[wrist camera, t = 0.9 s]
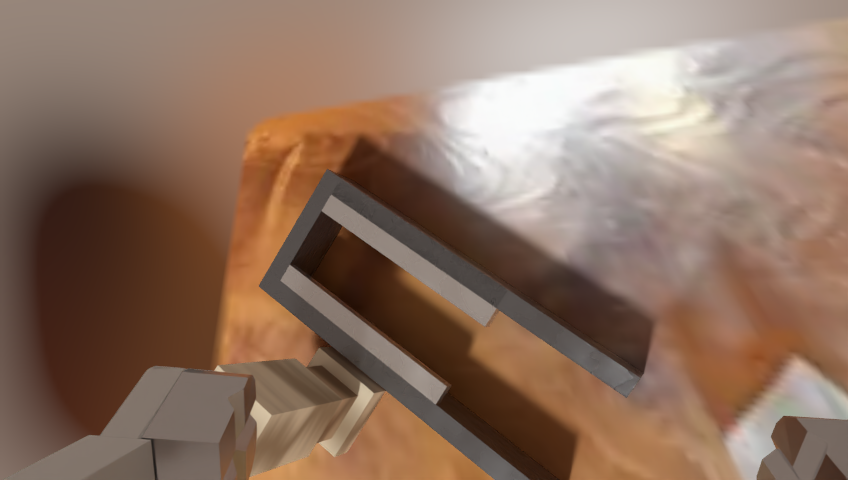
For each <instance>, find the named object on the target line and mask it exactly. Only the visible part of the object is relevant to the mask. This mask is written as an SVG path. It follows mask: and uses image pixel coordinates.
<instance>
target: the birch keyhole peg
mask: <svg viewBox="0 0 848 480" xmlns="http://www.w3.org/2000/svg"><path fill="white" fill-rule="evenodd" d="M215 371H218V372H229V373H239V374H249V375H253V377H254V379H255V384H256V400H255V403H254V405H253V408H252V410H251V413H250V414H251V416H252V417H253V418H254V419H255V421H256V422H257V440H256V451H255V456H254V461H253V466H252V471H251V474H250V477H251V476H254V475H257V474H260V473H263V472H266V471H268V470H271V469H274V468H277V467H280V466H283V465H285V464H288V463H291V462H294V461H297V460H300V459H303V458H305V457H308V456H309V455H310V453H311V451H312V450H313V448H314V446H315V445H316V443H319V444H321V445H322V446H323V447H324V448H325V449H326V450H327V451H328V452H329V453H330V454H331V455H333V456H334V457H336V456H339V455H341V454H344V453H347V452H348V450H349V449H350V447H351V445H352V444H353V442H354V441H355V439H356V437H357V436H358V434H359V433H360V431H361V429H362V428H363V426H364V425H365V423H366V421H367V420H368V418H369V417H370V415H371V413H372V412H373V410H374V409H375V407H376V405H377V404H378V402H379V400H380V399H381V397H382V396H383V394H384V392H385V390H384V389H383V388H382V387H381V386H379V385H378V384H377V383H376V382H374V381H373V380H372V379H371V378H370V377H368V376H367V375H366V374H365V373H363V372H362V371H361V370H360V369H359V368H357V367H356V366H355V365H354V364H352V363H351V362H350V361H349V360H348V359H346V358H345V357H344V356H343V355H341V354H340V353H339V352H338V351H337V350H335V349H334V348H333V347H319V348H318V350H317V352H316V353H315V355H314V357H313V358H312V360H311V362H310V363H309V365H308V367H305V366H304V365H302V364H301V363H300V362H299V361H298V360H297V359H285V360H273V361H262V362H250V363H239V364H228V365H218V366H217V368H216V369H215Z"/></svg>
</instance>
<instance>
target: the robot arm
mask: <svg viewBox="0 0 848 480" xmlns="http://www.w3.org/2000/svg"><path fill="white" fill-rule="evenodd" d="M255 400H256V384H255V379H254V377H253V375H249V374H239V373H229V372H218V371H208V370H198V369H184V368H175V367H162V366H154V367H152V368H149V369H148V370H147V371H146V372H145V373H144V375H143V376H142V378H141V379H140V380H139V382H138V383H137V384H136V386H135V387H134V389H133V390H132V391H131V393H130V394H129V396H128V397H127V398H126V400H125V401H124V403H123V404H122V406H121V407H120V408H119V410H118V411H117V412H116V414H115V415H114V416H113V418H112V419H111V421H110V422H109V423H108V425H107V426H106V427H105V429H104V430H103V432H102V433H101V435H100V436H93V435H88V436H86V437H85V438H83V439H81V440H79V441H77V442H75V443H73V444H71V445H69V446H67V447H65V448H63V449H61V450H59V451H57V452H55V453H53V454H51V455H50V456H48V457H46V458H44V459H42V460H40V461H38V462H36V463H34V464H32V465H30V466H28V467H26V468H24V469H22V470H20V471H18V472H17V473H15V474H13V475H11V476H9V477H7V478H5V479H3V480H249V477H250V474H251V471H252V466H253V461H254V456H255V451H256V440H257V422H256V421H255V419H254V418H253V417H252V416H251V414H250V413H251V410H252V408H253V405H254V403H255ZM771 438H772V440H773V442H774V445H775V447H776V449H775V450H774V451H773V452H771V453H770V454H769V455H767V456H766V457H765V458H763V459H762V462H761V465H760V468H759V471H758V474H757V480H848V420H839V419H824V418H809V417H794V416H783V417H782V418H781V419H780V420H779V421H778V422H777V423H776V425H775V428H774V430H773V433H772V435H771Z"/></svg>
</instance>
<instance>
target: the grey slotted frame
mask: <svg viewBox="0 0 848 480" xmlns="http://www.w3.org/2000/svg"><path fill="white" fill-rule="evenodd" d="M342 226H344V227H345V228H346V229H348V230H349V231H351V232H352V233H353V234H355V235H356V236H358V237H359V238H360V239H362V240H363V241H365V242H366V243H368V244H369V245H370V246H372V247H373V248H375V249H376V250H377V251H379V252H380V253H382V254H383V255H384V256H386V257H387V258H389V259H390V260H392V261H393V262H394V263H396V264H397V265H399V266H400V267H401V268H403V269H404V270H406V271H407V272H408V273H410V274H411V275H413V276H414V277H416V278H417V279H418V280H420V281H421V282H423V283H424V284H425V285H427V286H428V287H430V288H431V289H432V290H434V291H435V292H437V293H438V294H440V295H441V296H442V297H444V298H445V299H447V300H448V301H449V302H451V303H452V304H454V305H455V306H456V307H458V308H459V309H461V310H462V311H464V312H465V313H466V314H468V315H469V316H471V317H472V318H473V319H475V320H476V321H478V322H479V323H480V324H482V325H483V326H485V327H489V326H490V324H491V323H492V321H493V320H494V318H495V317H496V315H497V313H498V312H499V310H500V311H501V312H503V313H504V314H505V315H507V316H508V317H510V318H511V319H513V320H514V321H516V322H517V323H519V324H520V325H521V326H523V327H524V328H526V329H527V330H529V331H530V332H532V333H533V334H535V335H536V336H537V337H539V338H540V339H542V340H543V341H545V342H546V343H548V344H549V345H550V346H552V347H553V348H555V349H556V350H558V351H559V352H561V353H562V354H564V355H565V356H566V357H568V358H569V359H571V360H572V361H574V362H575V363H577V364H578V365H580V366H581V367H582V368H584V369H585V370H587V371H588V372H590V373H591V374H593V375H594V376H596V377H597V378H598V379H600V380H601V381H603V382H604V383H606V384H607V385H609V386H610V387H612V388H613V389H614V390H616V391H617V392H619V393H620V394H622V395H623V396H625V397H626V398H627V397H628V395H629V394H630V393H631V392H632V390H633V389H634V387H635V386H636V384H637V383H638V381H639V380H640V378H641V377H642V375H643V374H644V373H642V372H641V371H639V370H638V369H636V368H635V367H633V366H632V365H630V364H629V363H627V362H626V361H624V360H623V359H621V358H620V357H618V356H617V355H615V354H614V353H612V352H611V351H609V350H608V349H606V348H605V347H603V346H602V345H600V344H599V343H597V342H596V341H594V340H593V339H591V338H590V337H588V336H587V335H585V334H584V333H582V332H581V331H579V330H578V329H576V328H575V327H573V326H572V325H570V324H569V323H567V322H566V321H564V320H563V319H561V318H560V317H558V316H557V315H555V314H554V313H552V312H551V311H549V310H547V309H546V308H544V307H543V306H541V305H540V304H538V303H537V302H535V301H534V300H532V299H531V298H529V297H528V296H526V295H525V294H523V293H522V292H520V291H519V290H517V289H516V288H514V287H513V286H511V285H510V284H508V283H507V282H505V281H504V280H502V279H501V278H499V277H498V276H496V275H495V274H493V273H492V272H490V271H489V270H487V269H486V268H484V267H483V266H481V265H480V264H478V263H477V262H475V261H474V260H472V259H471V258H469V257H468V256H466V255H465V254H463V253H462V252H460V251H459V250H457V249H456V248H454V247H452V246H451V245H449V244H448V243H446V242H445V241H443V240H442V239H440V238H439V237H437V236H436V235H434V234H433V233H431V232H430V231H428V230H427V229H425V228H424V227H422V226H421V225H419V224H418V223H416V222H415V221H413V220H412V219H410V218H409V217H407V216H406V215H404V214H403V213H401V212H400V211H398V210H397V209H395V208H394V207H392V206H391V205H389V204H388V203H386V202H385V201H383V200H382V199H380V198H379V197H377V196H376V195H374V194H373V193H371V192H370V191H368V190H367V189H365V188H364V187H362V186H361V185H359V184H358V183H356V182H354V181H353V180H351V179H349V178H347V177H344V176H342V175H340V174H337V173H335V172H333V171H331V170H328V169H327V170H326V172H325V174H324V175H323V177H322V179H321V181H320V182H319V184H318V186H317V187H316V189H315V191H314V192H313V194H312V196H311V198H310V199H309V201H308V203H307V204H306V206H305V208H304V210H303V211H302V213H301V215H300V216H299V218H298V220H297V221H296V223H295V225H294V227H293V228H292V230H291V232H290V233H289V235H288V237H287V239H286V240H285V242H284V244H283V245H282V247H281V249H280V250H279V252H278V254H277V256H276V257H275V259H274V261H273V262H272V264H271V266H270V268H269V269H268V271H267V273H266V274H265V276H264V278H263V279H262V281H261V283H260V285H259V287H260V288H261V289H263V290H264V291H265V292H266V293H268V294H269V295H270V296H271V297H272V298H274V299H275V300H276V301H277V302H279V303H280V304H281V305H282V306H283V307H285V308H286V309H287V310H288V311H290V312H291V313H292V314H293V315H294V316H296V317H297V318H298V319H299V320H301V321H302V322H303V323H304V324H305V325H307V326H308V327H309V328H310V329H311V330H313V331H314V332H315V333H316V334H318V335H319V336H320V337H321V338H322V339H324V340H325V341H326V342H327V343H329V344H330V345H331V346H332V347H333V348H335V349H336V350H337V351H338V352H340V353H341V354H342V355H343V356H344V357H346V358H347V359H348V360H349V361H351V362H352V363H353V364H354V365H355V366H357V367H358V368H359V369H360V370H362V371H363V372H364V373H365V374H366V375H368V376H369V377H370V378H371V379H372V380H374V381H375V382H376V383H377V384H379V385H380V386H381V387H382V388H383V389H385V390H386V391H387V392H388V393H390V394H391V395H392V396H393V397H394V398H396V399H397V400H398V401H399V402H401V403H402V404H403V405H404V406H405V407H407V408H408V409H409V410H410V411H412V412H413V413H414V414H415V415H416V416H418V417H419V418H420V419H421V420H423V421H424V422H425V423H426V424H427V425H429V426H430V427H431V428H432V429H433V430H435V431H436V432H437V433H438V434H440V435H441V436H442V437H443V438H444V439H446V440H447V441H448V442H449V443H451V444H452V445H453V446H454V447H455V448H457V449H458V450H459V451H460V452H462V453H463V454H464V455H465V456H466V457H468V458H469V459H470V460H471V461H473V462H474V463H475V464H476V465H477V466H479V467H480V468H481V469H482V470H484V471H485V472H486V473H487V474H488V475H490V476H491V477H492V478H493V479H495V480H559V479H558V478H556V477H555V476H554V475H552V474H551V473H550V472H549V471H547V470H546V469H545V468H543V467H542V466H541V465H540V464H538V463H537V462H536V461H535V460H533V459H532V458H531V457H529V456H528V455H527V454H526V453H524V452H523V451H522V450H520V449H519V448H518V447H517V446H515V445H514V444H513V443H511V442H510V441H509V440H508V439H506V438H505V437H504V436H503V435H501V434H500V433H499V432H497V431H496V430H495V429H494V428H492V427H491V426H490V425H488V424H487V423H486V422H485V421H483V420H482V419H481V418H479V417H478V416H477V415H476V414H474V413H473V412H472V411H471V410H469V409H468V408H467V407H465V406H464V405H463V404H462V403H460V402H459V401H458V400H456V399H455V398H454V397H453V396H451V395H450V394H449V393H447V392H448V391H449V389H450V387H451V386H452V385H451V384H449V383H448V382H447V381H445V380H444V379H443V378H441V377H440V376H439V375H438V374H436V373H435V372H434V371H432V370H431V369H430V368H429V367H427V366H426V365H425V364H423V363H422V362H421V361H420V360H418V359H417V358H416V357H414V356H413V355H412V354H410V353H409V352H408V351H407V350H405V349H404V348H403V347H401V346H400V345H399V344H398V343H396V342H395V341H394V340H392V339H391V338H390V337H388V336H387V335H386V334H385V333H383V332H382V331H381V330H379V329H378V328H377V327H376V326H374V325H373V324H372V323H370V322H369V321H368V320H366V319H365V318H364V317H363V316H361V315H360V314H359V313H357V312H356V311H355V310H354V309H352V308H351V307H350V306H348V305H347V304H346V303H344V302H343V301H342V300H341V299H339V298H338V297H337V296H335V295H334V294H333V293H332V292H330V291H329V290H328V289H326V288H325V287H324V286H322V285H321V284H320V283H319V282H317V281H316V280H315V279H313V278H312V276H313V274H314V273H315V271H316V269H317V268H318V266H319V264H320V263H321V261H322V259H323V258H324V256H325V254H326V252H327V251H328V249H329V247H330V246H331V244H332V242H333V241H334V239H335V237H336V236H337V234H338V232H339V231H340V229H341V227H342Z"/></svg>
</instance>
